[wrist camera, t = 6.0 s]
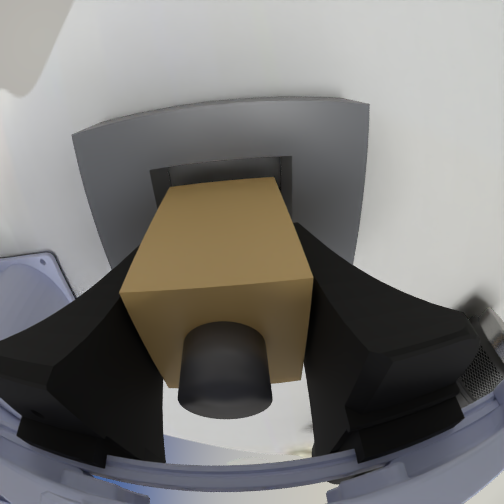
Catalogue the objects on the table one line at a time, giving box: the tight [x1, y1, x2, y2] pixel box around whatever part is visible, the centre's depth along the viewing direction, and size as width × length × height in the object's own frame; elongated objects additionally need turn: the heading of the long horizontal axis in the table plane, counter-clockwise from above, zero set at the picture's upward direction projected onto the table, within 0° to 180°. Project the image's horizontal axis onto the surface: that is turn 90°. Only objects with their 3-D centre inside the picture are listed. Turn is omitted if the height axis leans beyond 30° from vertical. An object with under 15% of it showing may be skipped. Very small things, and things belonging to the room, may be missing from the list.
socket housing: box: [72, 97, 369, 269], centre depth 13 cm, size 12×10×3 cm
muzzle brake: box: [312, 307, 504, 484], centre depth 24 cm, size 10×28×10 cm, turn 152°
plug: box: [119, 177, 313, 419], centre depth 8 cm, size 4×4×8 cm
